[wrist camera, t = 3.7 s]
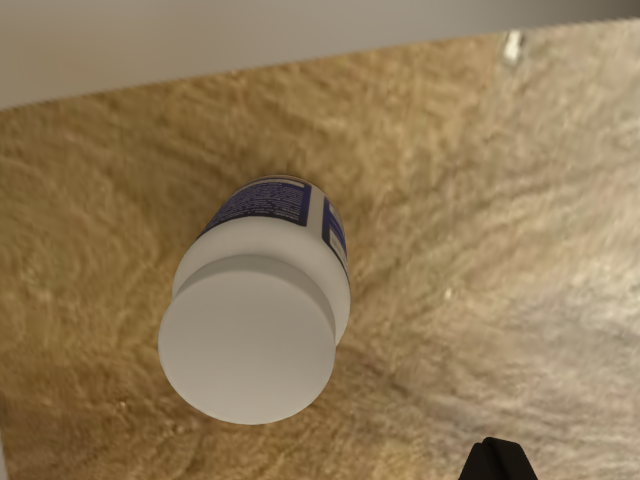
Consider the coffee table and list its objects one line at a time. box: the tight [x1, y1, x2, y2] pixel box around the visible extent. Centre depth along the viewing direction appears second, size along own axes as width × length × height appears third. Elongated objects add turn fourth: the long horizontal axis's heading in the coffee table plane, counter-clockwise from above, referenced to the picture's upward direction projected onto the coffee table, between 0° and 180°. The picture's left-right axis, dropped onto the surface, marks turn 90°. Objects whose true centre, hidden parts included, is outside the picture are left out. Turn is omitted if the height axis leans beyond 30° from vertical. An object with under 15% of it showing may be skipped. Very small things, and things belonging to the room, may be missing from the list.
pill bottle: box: [158, 175, 350, 425], centre depth 17 cm, size 6×6×10 cm
